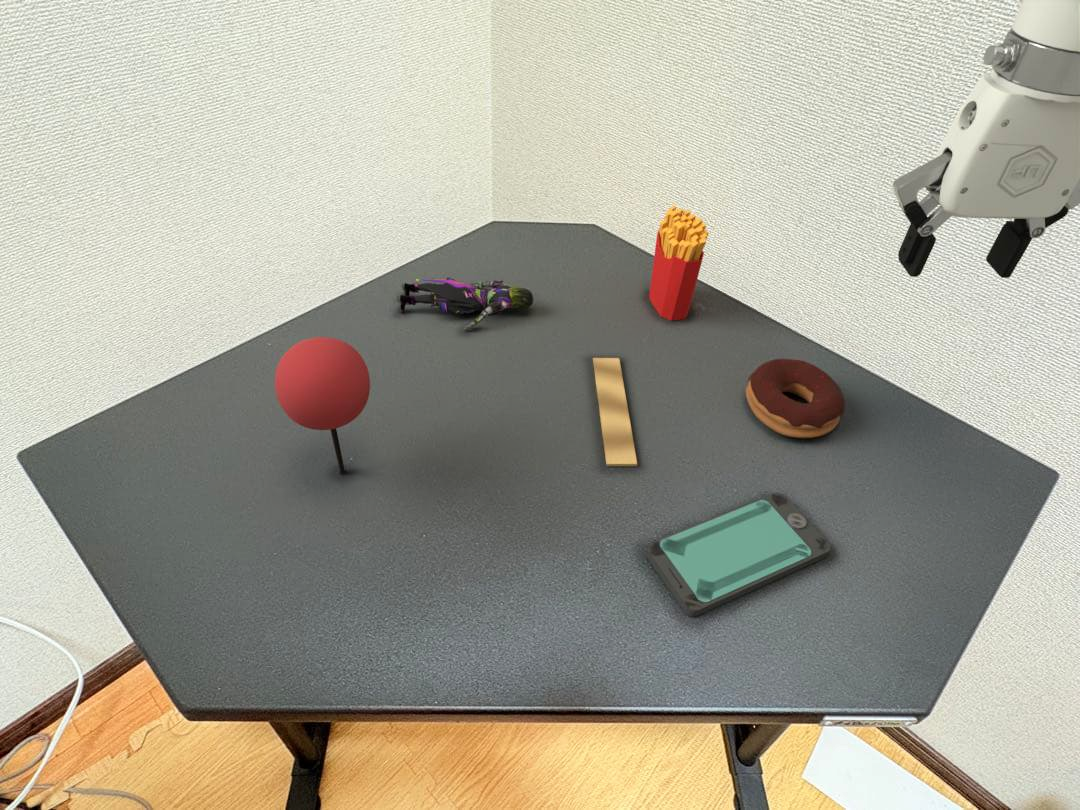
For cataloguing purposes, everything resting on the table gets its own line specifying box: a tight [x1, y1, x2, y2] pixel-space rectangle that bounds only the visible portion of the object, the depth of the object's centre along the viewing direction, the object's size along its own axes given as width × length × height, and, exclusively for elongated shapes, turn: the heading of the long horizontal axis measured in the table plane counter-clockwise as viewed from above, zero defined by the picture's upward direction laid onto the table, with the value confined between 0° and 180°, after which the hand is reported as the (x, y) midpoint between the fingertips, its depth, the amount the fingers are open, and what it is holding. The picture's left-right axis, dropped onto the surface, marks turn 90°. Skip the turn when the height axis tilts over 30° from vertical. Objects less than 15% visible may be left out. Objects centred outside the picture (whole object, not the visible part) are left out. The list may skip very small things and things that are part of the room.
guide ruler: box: [592, 357, 638, 467], centre depth 76 cm, size 16×3×1 cm, turn 2°
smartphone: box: [645, 492, 831, 618], centre depth 63 cm, size 7×1×15 cm
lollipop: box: [274, 336, 371, 476], centre depth 64 cm, size 8×8×15 cm
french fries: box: [648, 204, 709, 322], centre depth 86 cm, size 8×4×12 cm, turn 15°
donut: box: [745, 357, 846, 439], centre depth 76 cm, size 10×10×4 cm
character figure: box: [397, 277, 534, 331], centre depth 87 cm, size 9×4×16 cm
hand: (952, 267), depth 65 cm, fingers open, 7 cm apart
